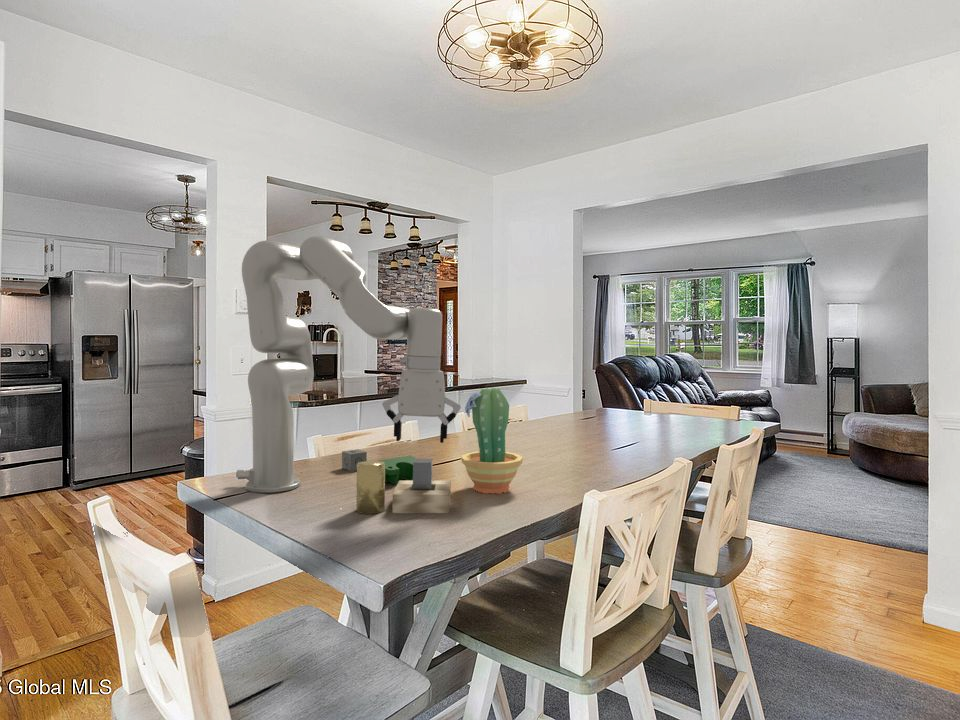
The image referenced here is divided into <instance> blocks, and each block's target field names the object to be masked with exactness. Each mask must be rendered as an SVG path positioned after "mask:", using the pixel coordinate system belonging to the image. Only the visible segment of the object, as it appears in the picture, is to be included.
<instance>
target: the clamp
mask: <svg viewBox="0 0 960 720" xmlns="http://www.w3.org/2000/svg"><path fill="white" fill-rule="evenodd" d="M414 459H417V458H416V457H415V456H413V455H412V454H410V455H409V454H408V455H403V456H398V457H392V458H387V459H379V460H378V461H380V462H384V463H385V483H391V484H392V485H393V486H397V484H398V482H399V480H404V479H405V480H413V462H414Z"/></svg>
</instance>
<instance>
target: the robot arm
mask: <svg viewBox="0 0 960 720" xmlns="http://www.w3.org/2000/svg"><path fill="white" fill-rule="evenodd" d="M354 258H355V257H354V253H353V252H352V250H351V248H350V247H349V246H348V245H347V244H346V243H345V242H342V241H339V240H335V239H333V238H329V237H327V236H326V237H325V236H322V235H321V236H319V235H313V236H310V237H308V238H305V240H303V241H302V242H301V245H300V246H298V245H294V244H289V243H286V242H282V241H278V240H261V241H257V242H256V243H254V244H252V246H250V247H249V248H248V250H247V251H246V253H245V255H244V256H243V259H242V264H241V278H242V283H243V287H244V291H245V297H246V306H247V307H246V309H247V316H248V328H249V336H250V337H249V338H250V342H251V346H252V347H253V349H254V350H255V351H257V352H259V353H262V354H279V356H280V357H279V358H268V359H263V360H260V361H258V362H256V363H254V365H253V366H252V367H251V368H250V369H249V372H248V376H247V385H248V386H247V387H248V390H249V396H250V401H251V413H252V421H251V422H252V423H251V424H252V468H250V469H249V470H247V469H237V470H236V473H235V477H236V478H237V479H238V480H247V481H248V482H246V484H245V489H246V490H247V491H248V492H252V493H260V494H261V493H262V494H265V493H266V494H268V493H269V494H271V493H281V492H286V491H290V490H294V489H296V488H298V487H299V486H301V480H300V479H299V478H298V477H296V476H294V475H295V474H294V469H295V468H294V460H295V459H294V453H295V451H294V439H295V438H294V437H295V436H294V435H295V434H294V430H295V429H294V428H295V427H294V411H293V408H292V405H291V402H290V400H289V396H290V397H291V396H295V395H296V396H298V395H301V394H303V393H306V392H307V391H308V390H309V389H311V387H312V385H313V383H314V376H315V371H314V359H313V348H312V341H311V333H310V331H309V328H308V327H307V325H306V323H305V322H304V321H303V320H301V318H298V317H295V316H292V315H286V312H285V302H284V301H285V300H284V295H283V293H282V290H281V288H280V286H279V284H278V282H277V281H276V278H281V279H289V280H294V281H310V280H311V281H312V280H319V281H321V282H322V283H323V284H324V285H325V286H326V287H327V288H328V289H329V291H331V292H332V293H333V294H334V295H335V296H337V298H338V299H339V303H340V305H341V308H342V309H343V312H344V313H345V315H346V316H347V317H348V319H350V320H351V321H352V322H353V323H354V324H355V325H357V327H359V328H360V329H361V330H362V331H363V332H364V333H365V334H367V335H368V336H370V337H371V338H373V339H376V340H385V341H388V340H392V341H400V340H401V341H404V340H406V343H407V344H406V356H405V357H402V358H401V357H400V359H399V364H400V365H404V367H405V368H406V369H402V371H401V374H400V375H401V376H400V379H399V380H400V381H399V388H398V394H397V395H395V396H393V397H391V398H389V399H386V400H384V401H382V404H381V405H382V407H383V409H384V411H385V413H386V415H387V417H388V418H390V419H391V421H392V423H393V437H396V442H399V441H401V439H402V426H403V425H402V423H403V422H402V421H401V419H402V418H403V417H404V416H407V417H431V418H438V419H439V420H440V421H441V424H440V434H439V437H440V438H439V442H440V444H444V440H446V439H447V438H448V424H450V423H451V422H452V421H453V420H454V419H455V418H456V417H457V415H458V413H459V411H461V410H460V409H461V408H462V407H461V404H459V403H458V402H456V401H455V400H452V399H451V398H449V397H447V396H446V385H445V384H446V383H445V374H444V373H445V372H444V371H443V370H441V362H442V361H441V358H442V357H441V356H442V336H443V335H442V334H443V313H442V311H440V310H439V309H436V308H428V307H427V308H425V307H424V308H423V307H414V308H408V307H404V306H402V307H401V306H397V305H388V304H384V303H383V302H382V301H380V300H379V299H378V298H377V297H376V296H375V295H374V294H373V293H371V292H370V291H369V289H367V287H366V286H365V285H366V281H367V274H366V271H365V270H364V269H363V268H362V267H360V265H358V264H357V263H356V262H355V259H354ZM395 403H397V411H398V412H397V413H396V412H394V410H393V409H392V407H391V405H393V404H395ZM446 405H448V406H449V407H451V408H452V411H451V412H450V413H449V414H448V415H446V414H445V413H444V412H445V408H446V407H445V406H446Z"/></svg>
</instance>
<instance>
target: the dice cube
mask: <svg viewBox="0 0 960 720" xmlns="http://www.w3.org/2000/svg"><path fill="white" fill-rule="evenodd" d="M367 453H368V452H367V451H365V450H361V449H359V448H357V449H349V450H348V449H347V450H342V451H341V469H342V468H343V469H342V470H345V469H346V470H345V471H347V470H349V471H348V472H350V471H352V472H357V471H356V470H357V463H359V462H365V461H368V459H367V456H368V455H367Z"/></svg>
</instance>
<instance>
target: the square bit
mask: <svg viewBox="0 0 960 720" xmlns="http://www.w3.org/2000/svg"><path fill="white" fill-rule="evenodd" d="M432 481H433V458H416V459H414V462H413V490H432Z"/></svg>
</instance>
